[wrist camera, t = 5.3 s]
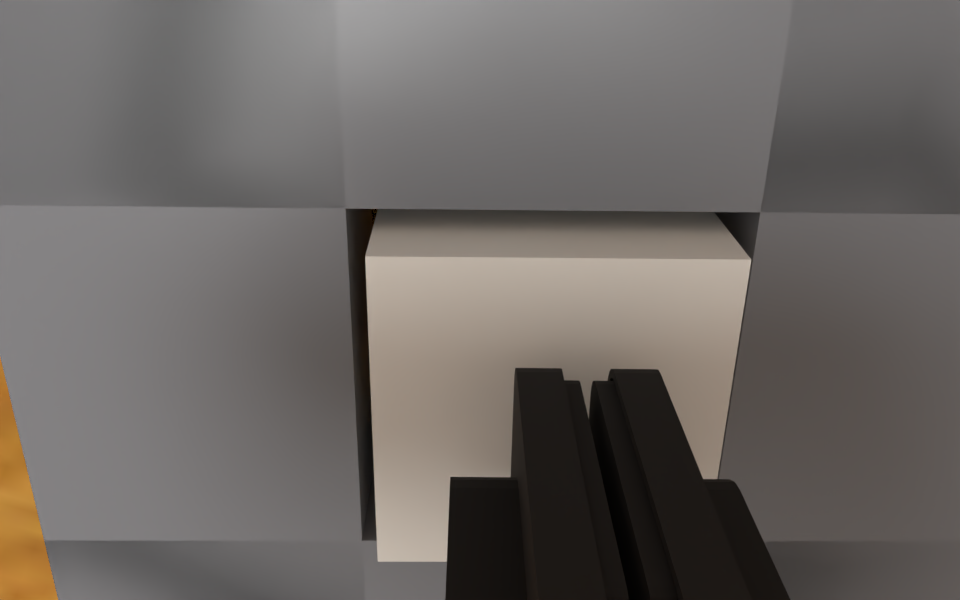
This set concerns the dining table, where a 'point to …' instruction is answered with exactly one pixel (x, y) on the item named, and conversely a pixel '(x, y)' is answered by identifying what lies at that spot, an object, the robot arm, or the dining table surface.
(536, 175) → the button board
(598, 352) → the button
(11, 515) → the dining table surface
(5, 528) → the dining table surface
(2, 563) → the dining table surface
